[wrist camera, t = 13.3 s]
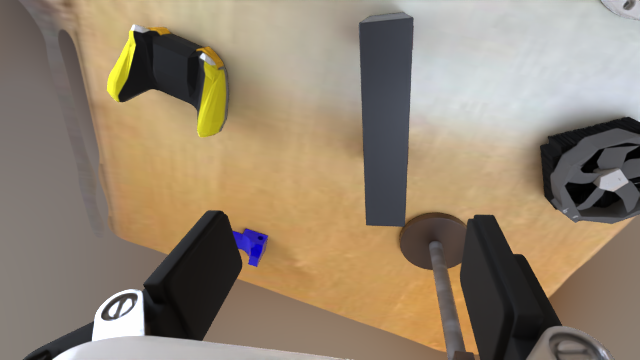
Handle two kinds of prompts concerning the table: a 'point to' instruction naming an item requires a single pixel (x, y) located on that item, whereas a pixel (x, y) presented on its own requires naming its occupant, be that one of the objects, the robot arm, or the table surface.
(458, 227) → the stand
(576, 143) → the cpu cooler
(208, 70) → the gaming controller
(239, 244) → the cable holder
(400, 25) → the headset
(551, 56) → the table surface
